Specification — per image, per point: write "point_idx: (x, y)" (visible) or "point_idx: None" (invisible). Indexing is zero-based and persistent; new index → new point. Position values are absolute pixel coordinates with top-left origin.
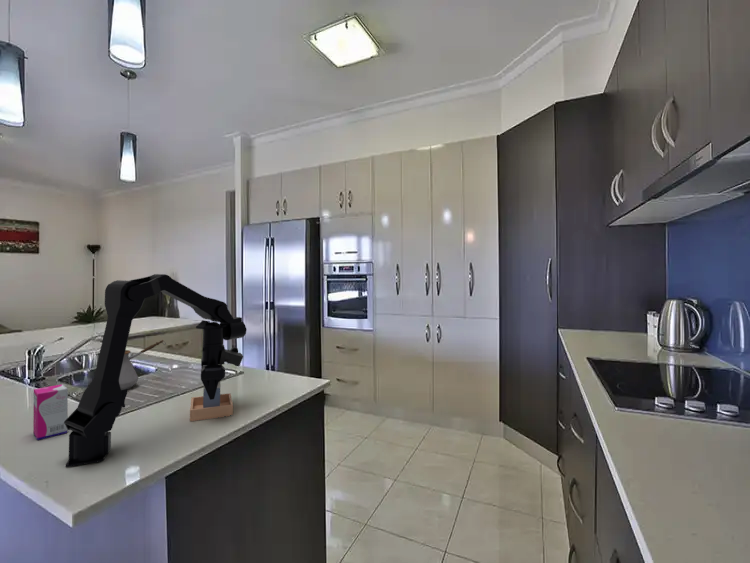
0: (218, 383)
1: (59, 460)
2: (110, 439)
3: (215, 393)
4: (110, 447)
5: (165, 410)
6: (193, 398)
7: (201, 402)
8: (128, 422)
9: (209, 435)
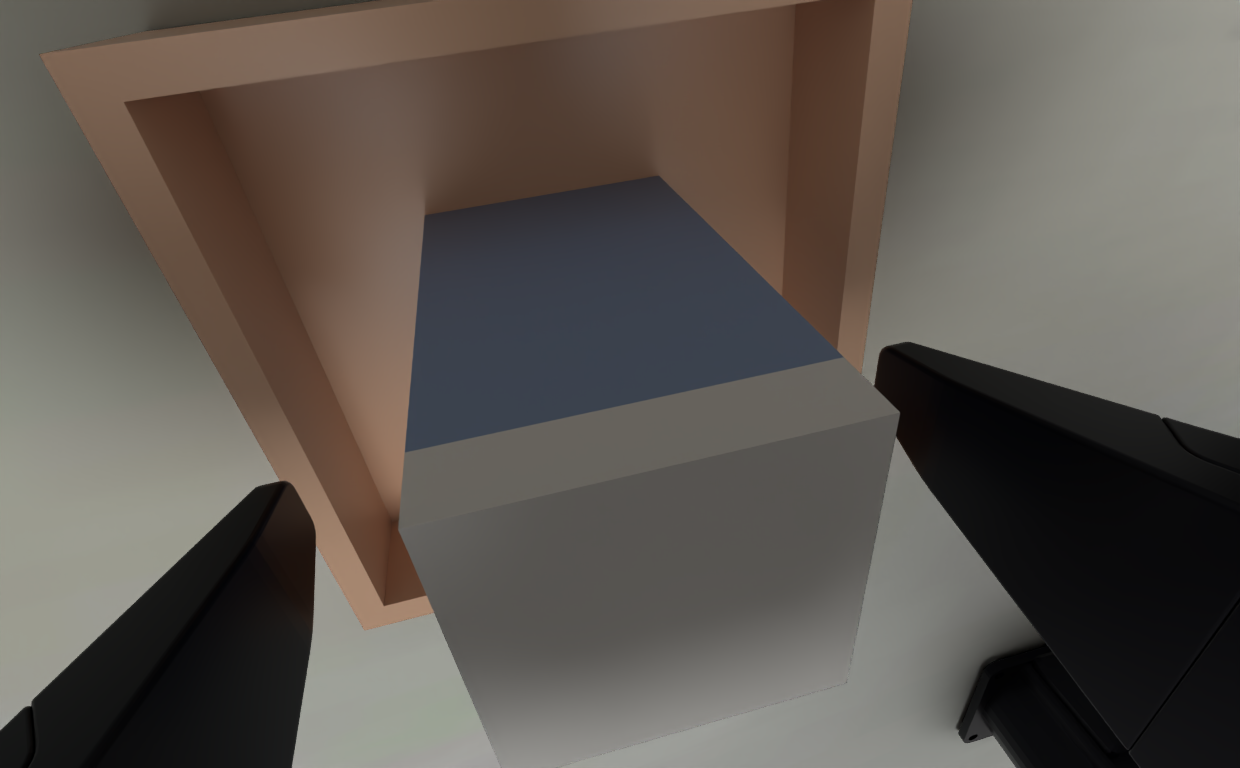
0: (779, 482)
1: (981, 740)
2: (1092, 706)
3: (1022, 376)
4: (1054, 664)
5: (440, 674)
6: (383, 599)
7: (356, 475)
8: (645, 747)
9: (1200, 187)
